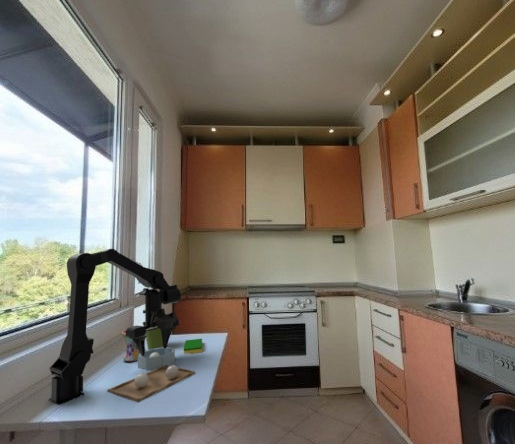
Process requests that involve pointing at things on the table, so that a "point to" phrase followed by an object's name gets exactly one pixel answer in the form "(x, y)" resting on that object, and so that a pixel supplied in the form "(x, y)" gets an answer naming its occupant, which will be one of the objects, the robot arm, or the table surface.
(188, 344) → the dish sponge
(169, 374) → the pebble
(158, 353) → the white ball
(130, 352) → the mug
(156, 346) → the plant pot
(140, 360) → the bowl
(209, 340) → the table surface
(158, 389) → the tray
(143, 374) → the pebble
